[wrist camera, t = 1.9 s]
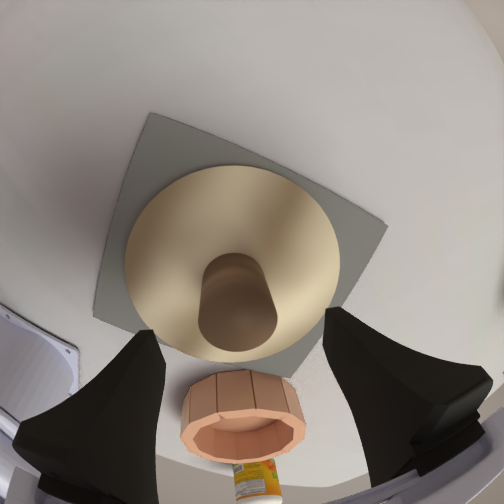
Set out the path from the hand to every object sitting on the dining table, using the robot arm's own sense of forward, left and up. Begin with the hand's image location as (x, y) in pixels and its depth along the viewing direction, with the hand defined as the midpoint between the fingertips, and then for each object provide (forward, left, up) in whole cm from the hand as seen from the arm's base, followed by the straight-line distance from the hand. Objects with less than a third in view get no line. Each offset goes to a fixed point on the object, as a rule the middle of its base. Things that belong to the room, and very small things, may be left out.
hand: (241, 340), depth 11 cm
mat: (0, 0, -7) cm, 7 cm away
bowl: (+6, -13, -7) cm, 15 cm away
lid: (0, 0, -6) cm, 6 cm away
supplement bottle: (+13, -25, -7) cm, 29 cm away
